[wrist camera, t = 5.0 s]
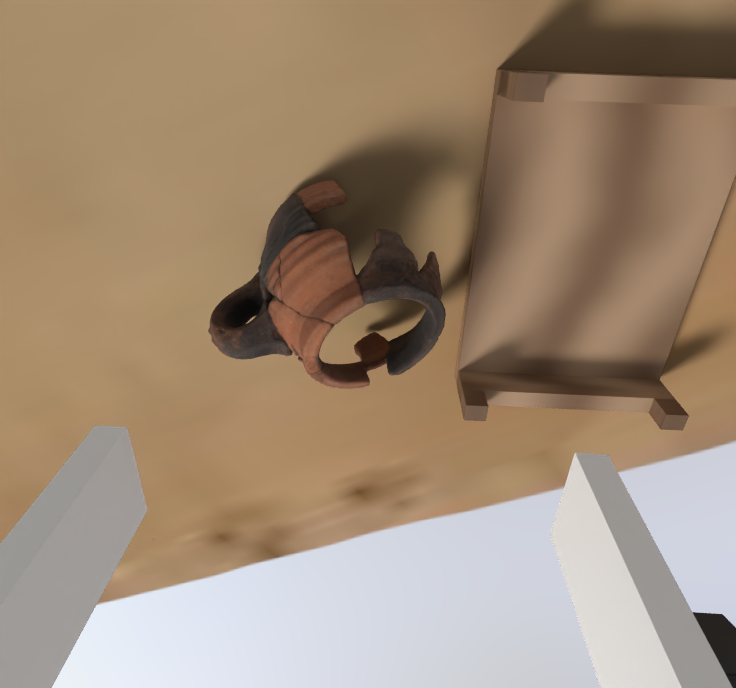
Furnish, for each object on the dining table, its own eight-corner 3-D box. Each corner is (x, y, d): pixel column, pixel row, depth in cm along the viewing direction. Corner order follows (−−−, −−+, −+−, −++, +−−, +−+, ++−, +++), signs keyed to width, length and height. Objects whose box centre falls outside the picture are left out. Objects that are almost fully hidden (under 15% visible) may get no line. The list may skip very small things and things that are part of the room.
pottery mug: (380, 136, 26) (447, 237, 21) (416, 261, 33) (472, 357, 28) (163, 237, 26) (179, 360, 21) (247, 338, 34) (274, 446, 29)
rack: (454, 375, 32) (463, 420, 28) (496, 69, 24) (517, 72, 20) (647, 384, 32) (682, 430, 28) (756, 79, 24) (829, 84, 20)
